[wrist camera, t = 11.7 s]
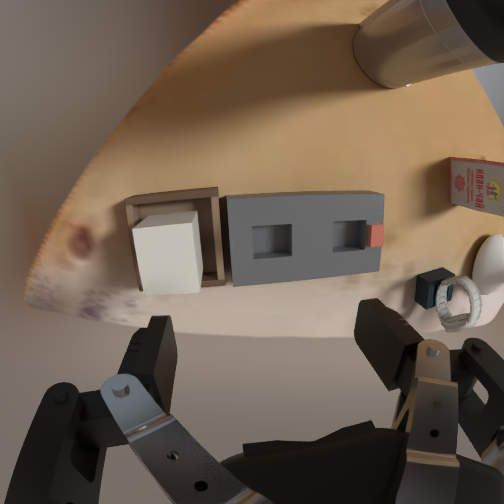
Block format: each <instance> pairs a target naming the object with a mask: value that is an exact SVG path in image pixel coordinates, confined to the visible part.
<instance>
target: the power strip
mask: <svg viewBox="0 0 504 504" xmlns="http://www.w3.org/2000/svg"><path fill="white" fill-rule="evenodd" d="M226 204H227V219H228V234H229V248H230V261H231V274H232V282H233V287H236V286H247V285H258V284H269V283H279V282H289V281H299V280H308V279H317V278H326V277H335V276H344V275H352V274H360V273H368V272H376V271H379V267H380V257H381V246H382V245H383V233H384V225H383V217H384V194H381V193H377V192H373V191H306V192H279V193H259V194H242V195H228V196H226Z"/></svg>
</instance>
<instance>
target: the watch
mask: <svg viewBox="0 0 504 504" xmlns="http://www.w3.org/2000/svg"><path fill="white" fill-rule="evenodd" d="M454 284H455V285H456V284H459V285H461V286H464V288H465V289H466V291H467V293H468V296H469V297H470V298H469V300H470V304H471V305H470V313H466V314H461V315H457V316H452V315H451V313H450V311H449V309H448V305H447V304H446V303H447V301H450V300H451V298H452V292H453V286H454ZM472 293H473V294H472ZM476 299H477V300H476ZM415 301H416V302H417V303H418V304H420V305H421V306H422V307H423V308H425V309H429V308H432V307H434V306H436V310H437V313H438V316H439V319H440V321H441V325H442V326H443V327H444V328H445V331H446V332H457V331H461V330H465V329H468V328H470V327H472V326H474V325H475V324H476V320H478V319H479V318H480V314H481V309H482V307H481V306H482V300H481V295H480V292H479V289H478V287H477V286H476V284H475V283H474V282H473V280H471V279H470V278H468V277H467V276H463V275H460V276H455V274H454V273H452V272H450V271H448V270H447V269H445V268H443V267H442V268H439V269H435V270H432V271H428V272H425V273H421V274H418V275H417V284H416V293H415ZM444 308H445V309H444ZM447 309H448V310H447Z"/></svg>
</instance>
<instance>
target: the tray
mask: <svg viewBox="0 0 504 504" xmlns="http://www.w3.org/2000/svg"><path fill="white" fill-rule="evenodd" d="M125 204H126V213H127V220H128V228H129V234H130V241H131V247H132V253H133V259H134V265H135V270H136V275H137V280H138V285H139V290H140V291H143V287H142V282H141V277H140V272H139V267H138V262H137V256H136V250H135V244H134V238H133V231H132V229H133V228H134V227H135V226H136V225H138V224H139V223H140V222H141V221H143V220H144V219H145V218H146V217H148V216H150V215H159V214H168V213H178V212H188V211H197V214H198V225H199V234H200V244H201V253H202V262H203V273H202V281H201V287H212V286H224V285H225V274H224V263H223V250H222V238H221V225H220V211H219V196H218V187H211V188H199V189H188V190H177V191H168V192H159V193H150V194H142V195H134V196H131V197H129V198H126V199H125Z"/></svg>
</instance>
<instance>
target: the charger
mask: <svg viewBox="0 0 504 504" xmlns="http://www.w3.org/2000/svg"><path fill="white" fill-rule="evenodd" d="M132 231H133V238H134V244H135V250H136V256H137V262H138V267H139V272H140V277H141V282H142V287H143V292H144V296H155V295H170V294H184V293H197V292H200V290H201V281H202V273H203V262H202V253H201V244H200V234H199V225H198V214H197V211H188V212H178V213H168V214H159V215H150V216H148V217H146V218H145V219H144V220H143V221H141V222H140V223H139V224H138V225H136V226H135V227H134V228H133V229H132Z"/></svg>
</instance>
